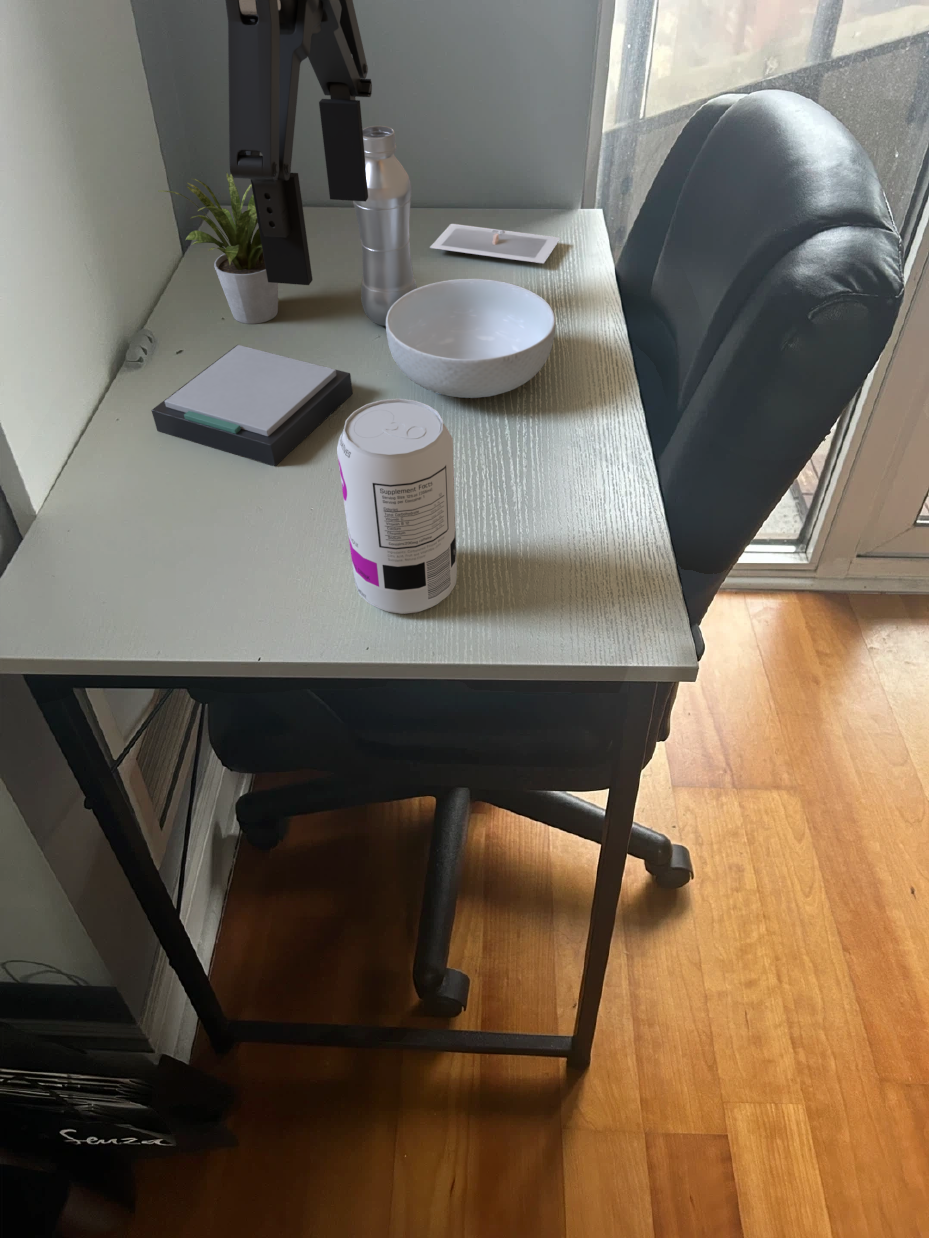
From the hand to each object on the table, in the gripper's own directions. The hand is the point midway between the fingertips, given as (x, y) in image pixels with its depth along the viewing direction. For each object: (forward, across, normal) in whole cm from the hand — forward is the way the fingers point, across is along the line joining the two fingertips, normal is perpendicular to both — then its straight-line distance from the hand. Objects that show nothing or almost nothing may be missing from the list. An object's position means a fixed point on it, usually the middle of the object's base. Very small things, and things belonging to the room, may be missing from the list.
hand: (322, 237), depth 64 cm
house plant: (+25, +34, +23) cm, 48 cm away
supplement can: (+25, -7, -6) cm, 27 cm away
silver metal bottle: (+25, +36, +6) cm, 45 cm away
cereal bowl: (+25, +25, -5) cm, 36 cm away
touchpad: (+25, +56, -3) cm, 62 cm away
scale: (+25, +15, +15) cm, 33 cm away
